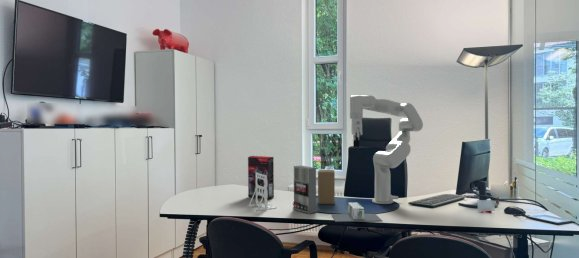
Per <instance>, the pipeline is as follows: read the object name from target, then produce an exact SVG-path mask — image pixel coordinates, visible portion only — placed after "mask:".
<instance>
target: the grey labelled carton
mask: <svg viewBox="0 0 579 258" xmlns="http://www.w3.org/2000/svg"><path fill="white" fill-rule="evenodd" d="M292 209H293V210H295V211H299V212H302V213H306V214H307V215H310V214H313V213H317V211H318V210H317V168H316V167H313V166H306V165H294V166H293V207H292Z"/></svg>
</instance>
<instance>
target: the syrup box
mask: <svg viewBox="0 0 579 258" xmlns="http://www.w3.org/2000/svg"><path fill="white" fill-rule="evenodd" d="M347 214H349V215H350V216H351V217H352V218H353V219H364V214H365V208H364V207H363V206H362V205H361V204H360V203H359V202H347Z"/></svg>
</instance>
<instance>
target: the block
mask: <svg viewBox="0 0 579 258" xmlns="http://www.w3.org/2000/svg"><path fill="white" fill-rule="evenodd" d="M335 181H336V180H335V170H334V169H318V170H317V202H318V203H317V204H318V205H335V196H336V195H335V188H336V187H335V186H336V185H335Z"/></svg>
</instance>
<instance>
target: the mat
mask: <svg viewBox="0 0 579 258" xmlns="http://www.w3.org/2000/svg"><path fill="white" fill-rule="evenodd" d="M331 217H332V218H333V220H334V222H335V223H343V222H344V223H350V222H353V223H354V222H355V223H356V222H361V223H362V222H363V223H364V222H383V220H382V218H381V217H379V216H378V215H377V214H376V213H364V219H353V218H352V217H351V216H350V215H349V213H331Z"/></svg>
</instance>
